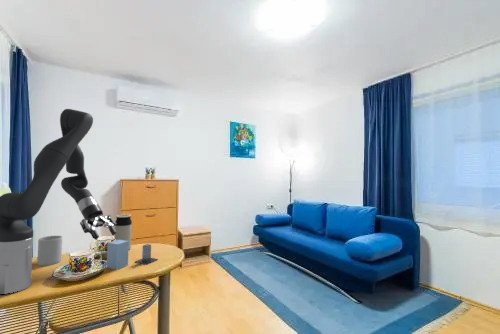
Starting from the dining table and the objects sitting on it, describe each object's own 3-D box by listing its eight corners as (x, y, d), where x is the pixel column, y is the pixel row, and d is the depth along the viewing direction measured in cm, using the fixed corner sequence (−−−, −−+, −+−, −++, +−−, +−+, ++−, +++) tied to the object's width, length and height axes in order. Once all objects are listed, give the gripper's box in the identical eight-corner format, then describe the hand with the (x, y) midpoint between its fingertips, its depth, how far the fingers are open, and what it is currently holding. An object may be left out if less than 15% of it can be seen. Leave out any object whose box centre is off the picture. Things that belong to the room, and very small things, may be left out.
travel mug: (134, 247, 135) (135, 214, 136) (122, 252, 127) (123, 217, 128) (122, 246, 137) (123, 213, 138) (110, 250, 130) (111, 216, 130)
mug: (59, 264, 110) (60, 239, 110) (34, 267, 106) (35, 241, 106) (64, 255, 120) (65, 233, 121) (42, 258, 116) (43, 234, 117)
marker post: (146, 264, 111) (146, 248, 111) (134, 262, 114) (135, 246, 114) (157, 259, 118) (158, 244, 118) (146, 257, 120) (147, 242, 120)
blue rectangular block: (116, 269, 105) (117, 244, 105) (106, 267, 107) (107, 242, 107) (127, 265, 110) (128, 241, 111) (118, 263, 112) (119, 239, 113)
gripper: (78, 205, 109) (95, 234, 105) (107, 201, 122) (124, 227, 118) (70, 216, 111) (86, 245, 106) (100, 211, 124) (115, 237, 120)
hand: (106, 236), depth 112 cm, fingers open, 8 cm apart
